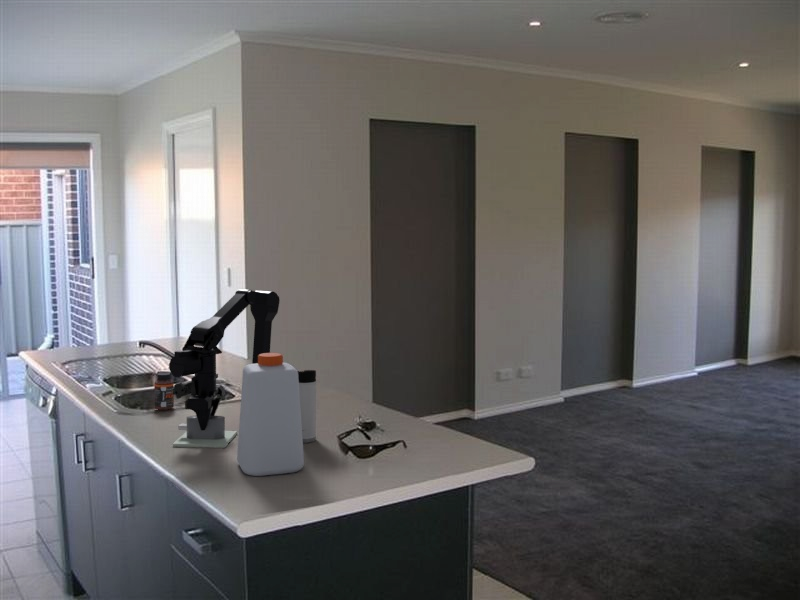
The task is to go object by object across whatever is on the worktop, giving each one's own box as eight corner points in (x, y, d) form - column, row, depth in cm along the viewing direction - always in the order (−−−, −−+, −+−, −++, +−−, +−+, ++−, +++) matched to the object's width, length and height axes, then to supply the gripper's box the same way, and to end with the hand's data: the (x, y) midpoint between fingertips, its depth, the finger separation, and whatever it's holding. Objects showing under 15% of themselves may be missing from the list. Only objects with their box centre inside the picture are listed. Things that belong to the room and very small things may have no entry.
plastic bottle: (307, 472, 188) (308, 358, 185) (244, 479, 183) (244, 361, 180) (293, 455, 202) (293, 348, 200) (234, 460, 197) (234, 351, 194)
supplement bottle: (168, 411, 247) (167, 375, 246) (150, 409, 248) (150, 374, 247) (177, 406, 253) (176, 372, 251) (160, 405, 254) (159, 371, 253)
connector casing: (226, 435, 217) (226, 415, 216) (222, 439, 213) (222, 419, 212) (182, 434, 217) (181, 414, 217) (177, 438, 213) (177, 418, 212)
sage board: (237, 433, 222) (237, 430, 222) (224, 447, 208) (224, 444, 208) (188, 432, 222) (188, 429, 222) (172, 446, 208) (172, 443, 208)
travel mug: (298, 444, 212) (298, 371, 210) (289, 438, 218) (290, 367, 216) (319, 441, 215) (320, 370, 213) (310, 435, 221) (311, 366, 219)
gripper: (186, 364, 223) (186, 418, 224) (165, 377, 204) (165, 436, 205) (225, 365, 222) (225, 419, 224) (207, 378, 204) (208, 437, 205)
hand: (205, 427), depth 215 cm, fingers open, 5 cm apart
